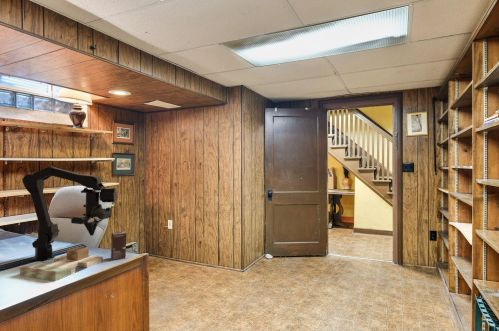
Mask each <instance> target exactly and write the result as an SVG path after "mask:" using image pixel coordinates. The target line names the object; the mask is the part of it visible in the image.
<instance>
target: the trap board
mask: <svg viewBox="0 0 499 331" xmlns="http://www.w3.org/2000/svg"><path fill="white" fill-rule="evenodd" d="M103 259H104V257H103V256H98V255H90V254H89V257H87V258H84V259H81V260H79V261H75V260H68V259H67V253H66V254H63V255H61V256H56V257H53V262H51V263H44V262H40V263H36V264H34V265H31V266H24V265H19V276H22V277H23V276H24V277H28V278H29V277H30V278H35V279H43V280H48V281H53V282H57V281H59V280H61V279H64V278H65V277H69V276H71V275H73V274H76V273H78V272H81V271H82V270H86V269H88V268H90V267H93V266H95V265H98V264H100V263H102V262H103V261H104V260H103Z"/></svg>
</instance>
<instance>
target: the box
mask: <svg viewBox="0 0 499 331" xmlns="http://www.w3.org/2000/svg"><path fill="white" fill-rule="evenodd" d="M110 236H111V239H110V240H111V242H110V243H111V244H110V259H111V260H112V261H113V260H121V258H122V259H126V258H127V257H126V252H127V232H126V231H125V230H124V231H112V232H111V235H110ZM125 257H126V258H125Z"/></svg>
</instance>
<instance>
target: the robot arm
mask: <svg viewBox="0 0 499 331" xmlns="http://www.w3.org/2000/svg"><path fill="white" fill-rule="evenodd" d="M51 177H56V178H60V179H63V180H66V181H71V182H74V183H77V184H79V185H81V186H83V187H84V188H83V189H82V190H80V193H81V194H85V204H82V205H83V208H84V209H85V212H84V213H83V214H82V215H76V216H72V217H71V219H70V224H73V225H74V224H76V225H84V227H85V228H86V230H87V232H88V234H89V235H90V236H94V235H95V232H96V230H97V227H98V225H99V223H101V222H103V220H106V219H109V218H111V217H112V213H113V209H112V208H111V207H104V208H103V207H102V206H103V205H102V203H117V200H118V194H117V188H116V187H112V188H111V187H109V188H106V187H105V185H104V184H103V182H102V180H101V177H100V176H98V175H93V174H81V173H77V172H75V171H74V172H73V171H70V170H66V169H63V168H59V167H56V166H47V167H45V168H44V169H41V170H39V171H35V172H33V173H28V174H26V175H24V176H23V177H22V179H21V180H22V184H23V186H24V188H25V189H26V191H27V192H28V193H29V194H30V197H31V201H32V205H33V208H34V211H35V214H36V219H37V222H38V228H37V238H36V239H35V240H34V241H33V242H32V243H31V245H32V248H33V249H35V250H34V252H35V253H34V257H32V258H31V260H32V261H38V262H44V261H47V260H50V259H54V258H56V256H55V255H53V243H54V242H55V240H56V239H57V238H58V236H59V232H60V229H59V227H58V223H55V224H54V223H53V221H52V220H51V216H50V213H49V209H48V206H47V202H46V198H45V194H44V190H45V189H44V188H45V181H47V180H48V179H49V178H51ZM100 201H101V202H102V203H101V204H100Z"/></svg>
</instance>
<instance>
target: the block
mask: <svg viewBox="0 0 499 331" xmlns="http://www.w3.org/2000/svg"><path fill="white" fill-rule="evenodd" d="M89 251H90V250H89V247H84V246H76V247H73V248H69V249H67V250H66V254H67V259H68V260H75V261H79V260H81V259H84V258H87V257H89V255H90V254H89V253H90V252H89Z"/></svg>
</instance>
